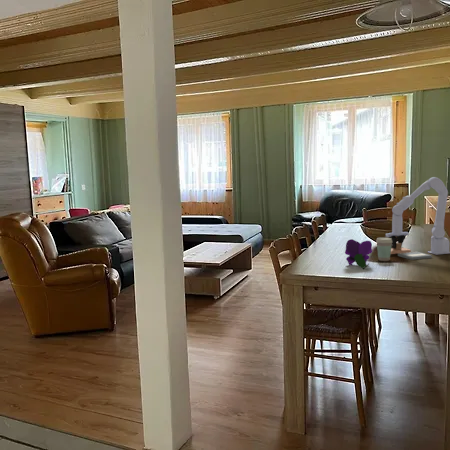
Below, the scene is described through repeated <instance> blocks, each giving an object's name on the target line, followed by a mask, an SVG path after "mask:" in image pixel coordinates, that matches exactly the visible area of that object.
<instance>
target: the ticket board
mask: <svg viewBox="0 0 450 450" xmlns="http://www.w3.org/2000/svg"><path fill="white" fill-rule="evenodd" d="M432 255H433V254H429V253H428V254H427V253H425V252H419V251H411V252H409V253H398V254H397V256H398V257H400V258H403V259H407V260H410V261H413V260H425V259H432Z"/></svg>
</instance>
